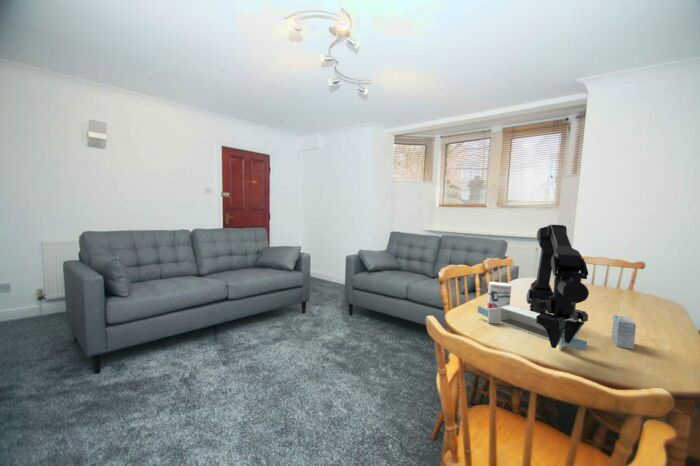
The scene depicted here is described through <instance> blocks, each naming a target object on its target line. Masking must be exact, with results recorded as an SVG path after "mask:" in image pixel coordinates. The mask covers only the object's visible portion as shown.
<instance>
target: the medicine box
mask: <svg viewBox="0 0 700 466" xmlns="http://www.w3.org/2000/svg"><path fill="white" fill-rule="evenodd" d="M636 326H637V323H635V322H634V321H633V320H632V319H631V318H630V317H628V316H623V315H615V314H614V315H613V319H612V328H611V330H612V331H611V339H612V341H613V342H614V344H615V345H616V347H618V348H619V347H620V348H623V349H628V350H634V349H635V340H636V338H635V337H636V330H637V329H636Z"/></svg>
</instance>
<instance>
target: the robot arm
mask: <svg viewBox="0 0 700 466" xmlns="http://www.w3.org/2000/svg"><path fill="white" fill-rule="evenodd" d="M567 231H568V229H567V226H566V225H564V224H548V225H547V226H543V227H540V228H539V229H538V230H537V232H536V240H537V242H538V245H539V247H540V256H539V261H538V268H537V274H536V279H535V280H534V281H533V282H532V283H530V288H528V291H527V294H526V298H525V299H526V303H527V304H528V305H529V310H530V311H533V312H536V313H540V314H539V315H538V316H536V323H538V324H540V325H541V326H543V327H544V328H545V329H546V331H547V334H548V337H549V340H548V341H549V344H550V347H551V348H552V349H556V348H557V346H558V345H559V341H560V339H561V337H562V335H563V334H564V339H565V343H568V344H569V343H570V342H571V340H572V339H573V338H574V336H575V335H576V333H577V332H579V331H580V329H581V328H582V327H583V326H584V325H585V322H588V319H589V314H588V313H587V312H586V311H585V310H581V309H576V308H577V307H576V306H577V304H579V303H582V302H584V301H586V300H587V299H588V297H589V294H590V293H589V290H588V287H587V286H586V285H585V284H584V283H582V282H581V281H582V280H587V279H588V276H589V270H588V267H587V263H586V262H585V258H583V256H582V254H581V253H580V251H579V250H577V249H575V248H573V247H572V244H571V242H570V239H569V236H568V232H567ZM552 275H553V276H554V282H553V288H552V286H551V283H550V281H551V276H552ZM577 334H578V333H577Z"/></svg>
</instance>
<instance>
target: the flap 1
mask: <svg viewBox="0 0 700 466" xmlns="http://www.w3.org/2000/svg"><path fill="white" fill-rule="evenodd" d="M477 313H478V314H480V315H483V316H484V317H487V323H488V324H495V323H500V322H499V317H500V308H489V309H488V308H486V307H483V306H481V305H477Z"/></svg>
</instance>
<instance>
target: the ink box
mask: <svg viewBox="0 0 700 466" xmlns="http://www.w3.org/2000/svg"><path fill="white" fill-rule="evenodd" d="M511 293H512V285H511V284H510V283H509V282H501V281H500V282H498V281H489V282H488V291H487V306H488V307H487V309H488V308H500V307H502V306H506V305H511Z"/></svg>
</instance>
